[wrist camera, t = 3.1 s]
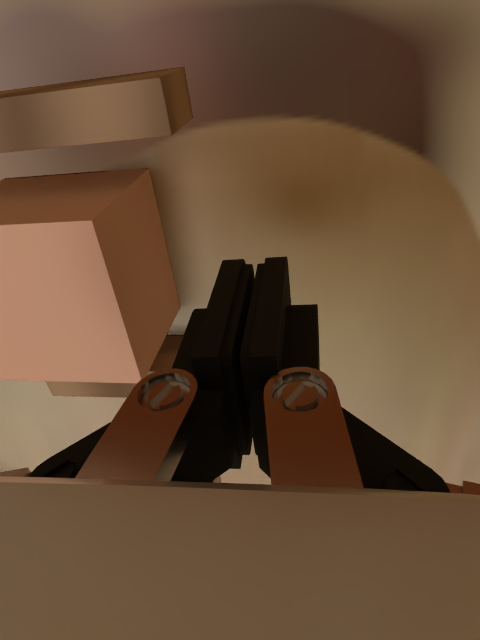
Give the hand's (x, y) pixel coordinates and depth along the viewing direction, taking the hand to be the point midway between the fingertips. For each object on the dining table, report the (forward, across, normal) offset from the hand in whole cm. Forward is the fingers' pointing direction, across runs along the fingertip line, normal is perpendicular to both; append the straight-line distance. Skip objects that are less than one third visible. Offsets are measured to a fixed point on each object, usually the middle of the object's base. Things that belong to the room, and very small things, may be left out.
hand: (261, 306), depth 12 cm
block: (+6, +8, +1) cm, 10 cm away
